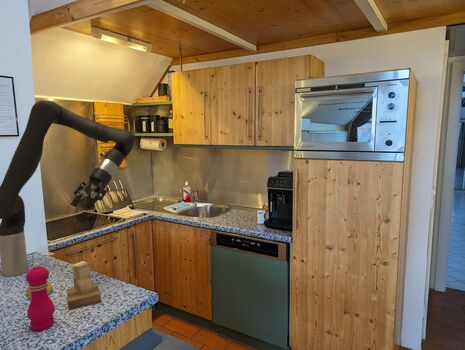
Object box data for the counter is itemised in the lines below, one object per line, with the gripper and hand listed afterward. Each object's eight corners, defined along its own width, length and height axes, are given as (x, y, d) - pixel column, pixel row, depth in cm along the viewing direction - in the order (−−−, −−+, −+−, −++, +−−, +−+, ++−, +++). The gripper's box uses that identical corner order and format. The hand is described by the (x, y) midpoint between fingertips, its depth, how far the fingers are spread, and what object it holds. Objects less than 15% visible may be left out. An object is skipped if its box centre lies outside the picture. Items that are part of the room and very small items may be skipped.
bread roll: (29, 302, 115) (28, 291, 114) (25, 293, 122) (23, 282, 121) (56, 294, 120) (55, 284, 120) (50, 286, 127) (49, 276, 126)
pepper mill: (36, 318, 105) (29, 258, 102) (59, 317, 105) (54, 257, 102) (23, 332, 97) (16, 268, 95) (49, 331, 98) (43, 266, 95)
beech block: (74, 292, 115) (72, 265, 114) (84, 287, 118) (82, 260, 117) (81, 295, 113) (79, 267, 112) (91, 290, 116) (89, 263, 115)
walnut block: (67, 296, 118) (66, 289, 118) (97, 290, 123) (96, 282, 122) (68, 310, 109) (68, 301, 109) (101, 302, 114) (100, 293, 114)
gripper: (86, 165, 132) (61, 199, 123) (110, 167, 124) (85, 203, 116) (98, 177, 137) (75, 210, 129) (122, 179, 130) (99, 214, 121)
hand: (80, 207), depth 122 cm, fingers open, 8 cm apart
